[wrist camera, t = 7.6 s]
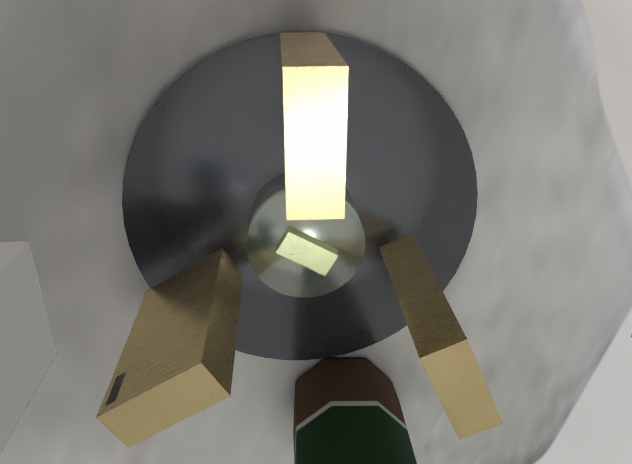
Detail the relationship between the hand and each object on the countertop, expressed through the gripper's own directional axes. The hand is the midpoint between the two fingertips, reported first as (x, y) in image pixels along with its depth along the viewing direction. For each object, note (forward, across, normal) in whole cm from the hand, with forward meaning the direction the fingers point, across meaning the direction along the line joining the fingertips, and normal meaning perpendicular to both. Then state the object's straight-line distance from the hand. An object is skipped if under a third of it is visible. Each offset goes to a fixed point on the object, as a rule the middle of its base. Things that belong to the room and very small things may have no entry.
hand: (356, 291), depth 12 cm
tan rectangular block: (+19, +7, -11) cm, 23 cm away
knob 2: (+19, 0, 0) cm, 19 cm away
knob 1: (+19, -7, -11) cm, 23 cm away
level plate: (+21, 0, -7) cm, 22 cm away
